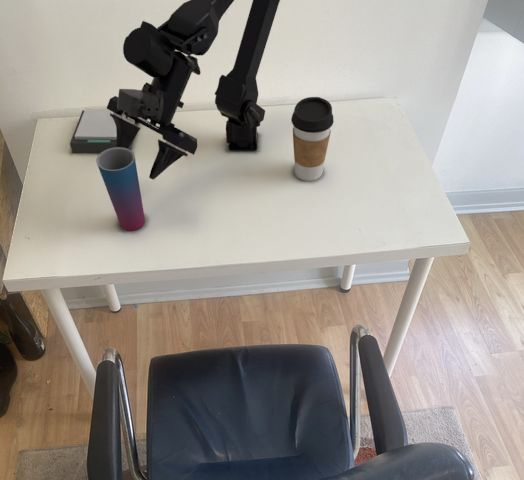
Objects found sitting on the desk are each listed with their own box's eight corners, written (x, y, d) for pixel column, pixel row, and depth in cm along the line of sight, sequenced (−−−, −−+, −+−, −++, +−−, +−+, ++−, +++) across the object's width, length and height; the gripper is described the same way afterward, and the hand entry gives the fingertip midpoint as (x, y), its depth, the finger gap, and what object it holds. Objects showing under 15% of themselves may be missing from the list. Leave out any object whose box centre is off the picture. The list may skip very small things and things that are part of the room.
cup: (152, 212, 111) (138, 148, 98) (145, 235, 107) (129, 171, 95) (120, 210, 111) (102, 146, 99) (111, 233, 107) (91, 169, 95)
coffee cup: (332, 164, 119) (339, 100, 107) (321, 188, 114) (328, 123, 102) (295, 157, 121) (298, 92, 108) (284, 180, 116) (286, 115, 104)
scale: (139, 120, 129) (136, 107, 127) (129, 153, 122) (126, 141, 119) (85, 119, 130) (81, 107, 127) (72, 152, 122) (68, 140, 120)
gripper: (101, 50, 94) (69, 137, 98) (177, 87, 87) (140, 178, 91) (143, 76, 104) (112, 154, 108) (214, 112, 97) (179, 193, 101)
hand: (134, 168), depth 102 cm, fingers open, 9 cm apart
